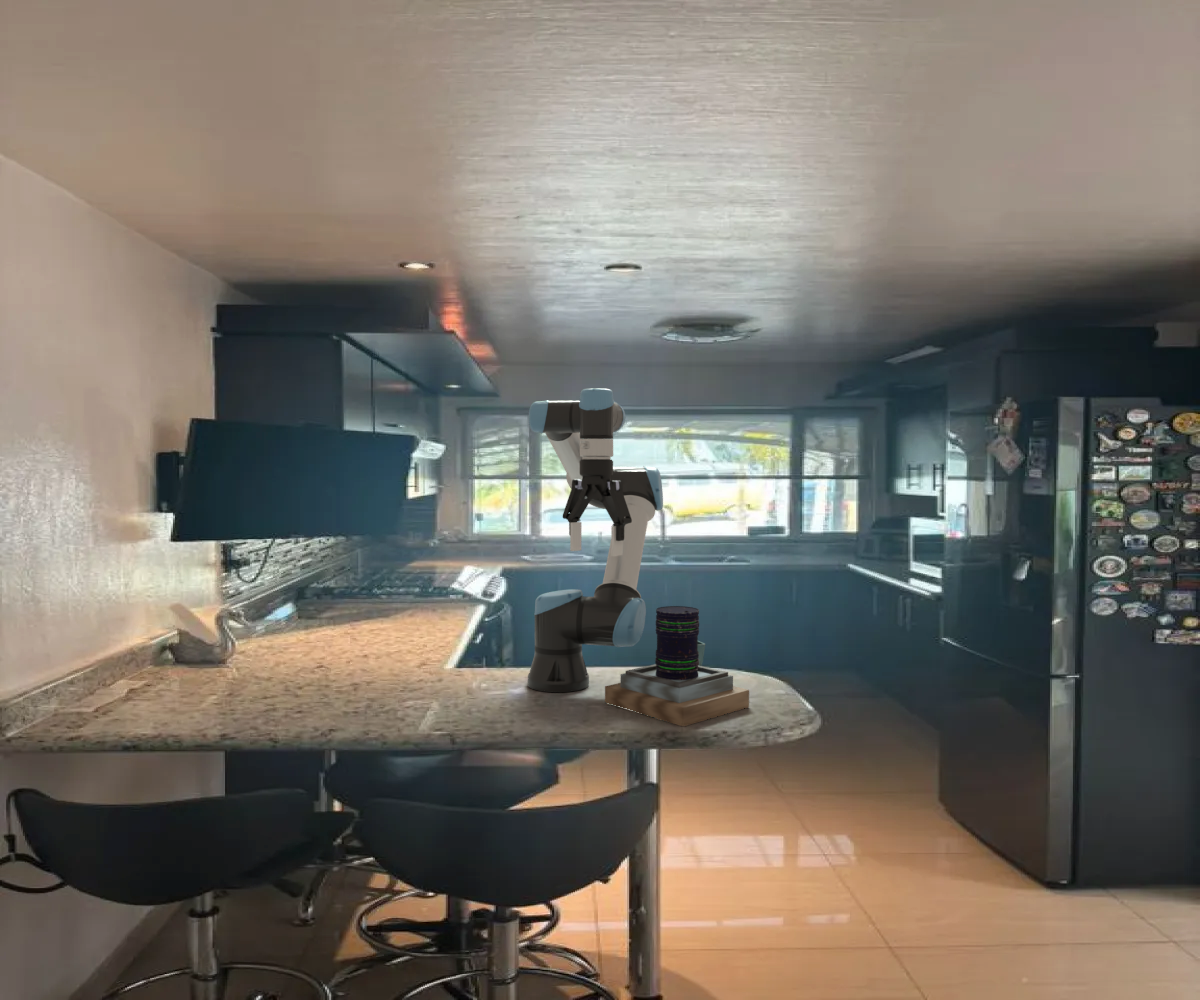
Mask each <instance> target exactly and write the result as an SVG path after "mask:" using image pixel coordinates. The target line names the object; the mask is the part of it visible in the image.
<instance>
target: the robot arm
mask: <svg viewBox="0 0 1200 1000" xmlns="http://www.w3.org/2000/svg"><path fill="white" fill-rule="evenodd" d="M626 417H627V416H626V412H625V410H624V408H623V407H622V405H620V404H619V403H618V402H617V401H615V400H614V392H613V390H612V389H611V388H610V389H609V388H583V389H582V390H581V391H580V395H579V400H547V399H546V400H542V401H541V400H539V401H534V402H532V404H531V405H530V407H529V411H528V425H529V428H530V430H531V432H533V433H536V434H545V435H546V437H547V439H548V441H549V443H550V444H551V446H552V448H553V450H554V452H555V454H556V456H557V457H558V459H559V462H560V464H562V466H563V469H564V471H565V473H566V475H565V476H566V477H565V478H566V483H567V484H568V487H570V493H569V495H568V498H567V502H566V504H565V508H564V510H563V513H562V518H563V520H567V522H568V530H569V531H568V532H569V533H568V534H569V536H570V537H569V539H570V545H569V546H570V547H569V549H570V552H577V551H582V522H581V518H582V516H583V514H584V512H585V510H586V509H587V508H588V505H591V506H593V507H596V508H598V509H603V510H604V509H605V510H606V512H607V513H608V515H609V518H610V519H611V521H612V522H613V524H612V525H611V527H610V529H611V533H610V534H611V535H610V536H611V538H610V543H609V549H608V554H607V559H606V565H605V570H604V575H603V580H602V583H601V584H599V585H597V586H596V588H595V590H594V594H593V596H584V594H583V591H582V589H575V588H573V589H560V590H555V591H550V592H549V591H548V592H545V593H542V594H540V595H538V596H537V598H536V599H535V600H534V601H535V602H534V603H535V604H534V613H533V615H534V655H533V659H532V662H531V665H530V670H529V673H528V675H527V687H528V688H530V689H532V690H535V691H539V692H543V693H544V692H545V693H546V692H547V693H568V692H569V693H571V692H577V691H581V690H584V689H586V688H587V687H589V685H590V675H589V673H588V669H587V665H586V662H585V660H584V656H583V645H589V646H590V645H591V646H605V647H607V646H609V647H616V648H621V647H633V646H635V645H636V644H637V643H638V642H640V639H641V638H642V635H643V632H644V628H645V626H646V625H645V624H646V615H647V607H646V602H645V600H644V599H642V596H641V593H640V592H639V591H638V589H637V588H638V582H639V577H640V576H639V575H640V569H641V565H642V559H643V553H644V552H643V551H644V547H645V539H646V534H647V527H648V522H649V521H651V520H653V518H654V516H655V514H656V511H657V512H658V511H661V510H663V507H664V495H663V492H664V491H663V484H662V483H663V482H662V476H661V473H660V469H658V468H656V467H653V466H646V465H643V466H640V467H639V466H614V460H613V459H612V457H614V433H616V432H618V431H620V430H621V429H622V427H623V426H624V424H625V422H626Z"/></svg>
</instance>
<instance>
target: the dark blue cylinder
mask: <svg viewBox="0 0 1200 1000" xmlns="http://www.w3.org/2000/svg"><path fill="white" fill-rule="evenodd" d="M655 613H656V615H655V634H656V650H655V658H654V661H655V662H654V665H655V664H656V676H657V677H660V678H664V679H668V680H690V679H694V678H697V677H698V665H699V659H698V658H699V652H698V641H699V639H698V637H699V635H700V628H699V627H700V621H699V620H700V616H699V614H700V610H699V608H696V607H693V606H683V605H673V606H672V605H670V606H669V605H667V606H660V607H657V608H655Z"/></svg>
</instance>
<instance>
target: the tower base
mask: <svg viewBox="0 0 1200 1000" xmlns="http://www.w3.org/2000/svg"><path fill="white" fill-rule="evenodd" d="M605 702H606V703H609V704H613V705H616V706H620V707H623V708H627V709H630V710H633V711H636V712H639V713H642V714H645V715H648V716H647V717H649V716H651V717H650V718H652V717H655V718H654V719H656V718H657V719H656V720H659V719H661V720H660V721H662V720H664V721H663V722H666V721H667V722H666V723H669V722H670V724H673V725H676V726H680V727H686V726H691V725H693V724H697V723H701V722H703V721H707V719H708V720H711V719H714V718H718V717H721V716H724V714H725V715H728V714H731V713H734V711H735V712H738V711H741V709H742V710H745V709H747V708H748V707H750V690H749V689H747V688H742V687H738V686H734V675H730V674H729V672H728V671H724V670H719V669H716V668H711V667H708V666H703V665H701V666H698V677H697V678H694V679H690V680H668V679H664V678H660V677H657V676H656V664H655V663H654V664H651V665H646V666H645V665H644V666H642V667H641V666H640V667H637V668H633V669H628V670H625V673H624V672H623V673H621V674H620V682H618V683H614V684H609V685H605V686H604V703H605ZM744 708H745V709H744ZM639 713H638V714H639ZM727 713H728V714H727ZM642 714H641V715H642ZM645 715H644V716H645ZM717 716H718V717H717ZM710 718H711V719H710Z"/></svg>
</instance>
